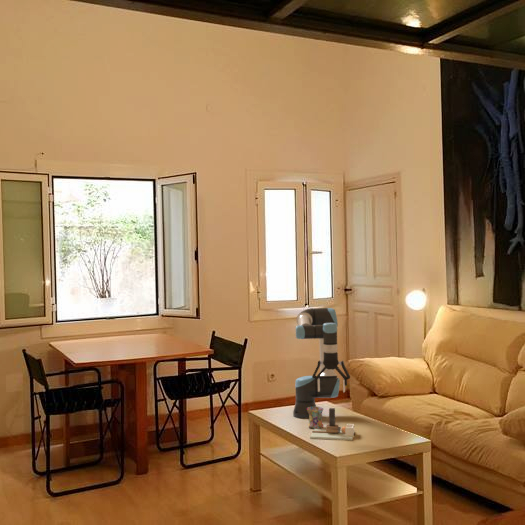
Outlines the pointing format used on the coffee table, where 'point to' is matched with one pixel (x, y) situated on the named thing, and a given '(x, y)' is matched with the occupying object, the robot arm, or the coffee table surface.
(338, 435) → the pitch
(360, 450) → the coffee table surface
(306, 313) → the robot arm
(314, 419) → the mug
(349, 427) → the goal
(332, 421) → the kicker
